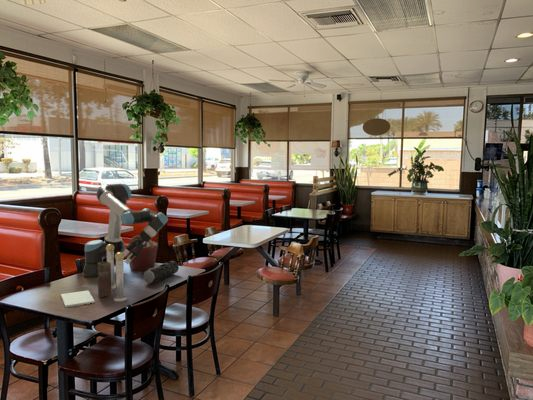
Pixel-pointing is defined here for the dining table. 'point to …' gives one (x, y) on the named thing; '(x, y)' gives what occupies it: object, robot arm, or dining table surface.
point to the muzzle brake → (160, 272)
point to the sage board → (77, 298)
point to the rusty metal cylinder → (104, 279)
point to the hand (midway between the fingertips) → (122, 260)
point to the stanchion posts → (119, 272)
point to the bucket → (143, 257)
